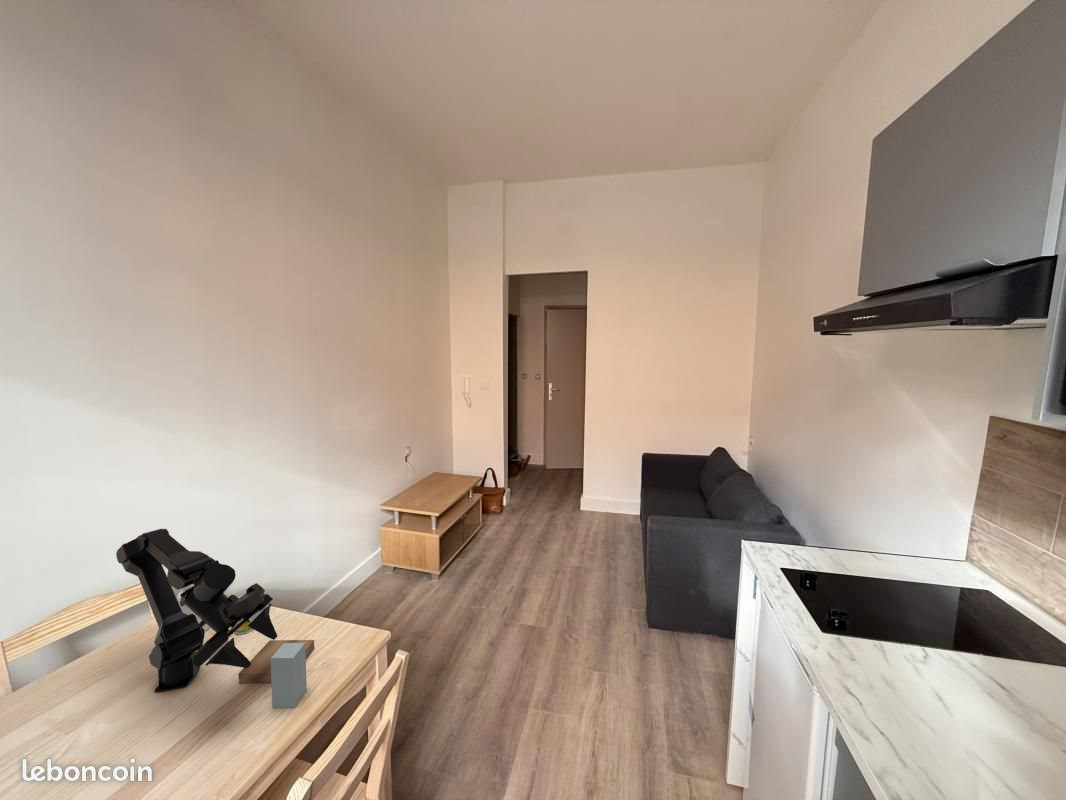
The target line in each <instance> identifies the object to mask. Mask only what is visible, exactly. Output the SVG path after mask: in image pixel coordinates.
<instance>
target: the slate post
mask: <svg viewBox="0 0 1066 800" xmlns="http://www.w3.org/2000/svg"><path fill="white" fill-rule="evenodd" d="M270 684H271V709H273V710H274V709H295V708H297V705H298V704H299V702H300V701H301V700H302V698H303V697H304V695H305V694H306V692H307V689H308V688H307V685H308V684H307V659H306V646H305V643H284V644H283V645H282V646H281V647H280V648H279V649H278V650H277V652H276V653H275V654H274V655H273V656H272V657H271V683H270Z"/></svg>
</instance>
